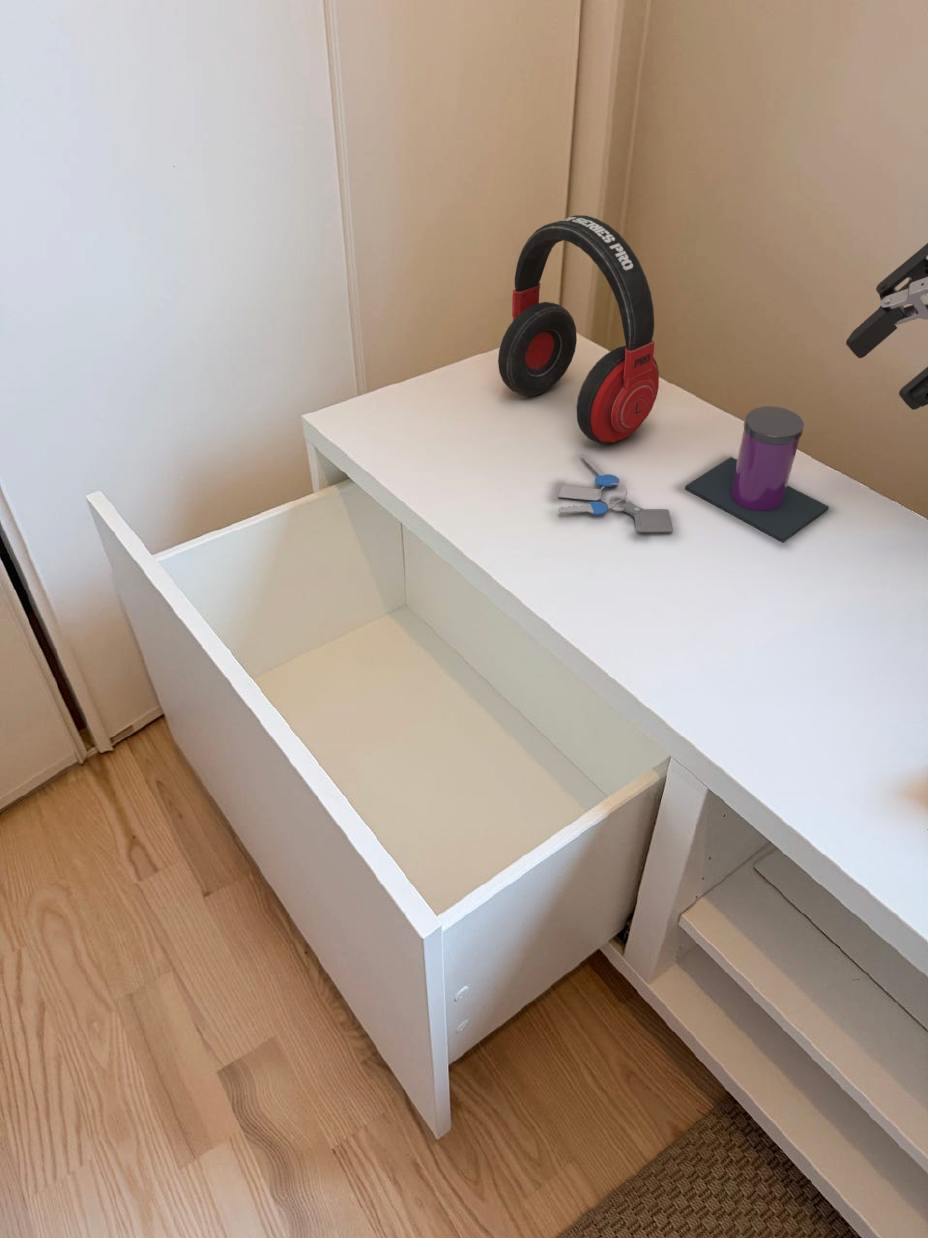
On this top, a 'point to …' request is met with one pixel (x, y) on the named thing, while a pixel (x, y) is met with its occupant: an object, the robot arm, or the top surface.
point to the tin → (766, 457)
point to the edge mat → (773, 522)
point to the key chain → (643, 517)
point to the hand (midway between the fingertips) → (877, 375)
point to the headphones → (548, 336)
